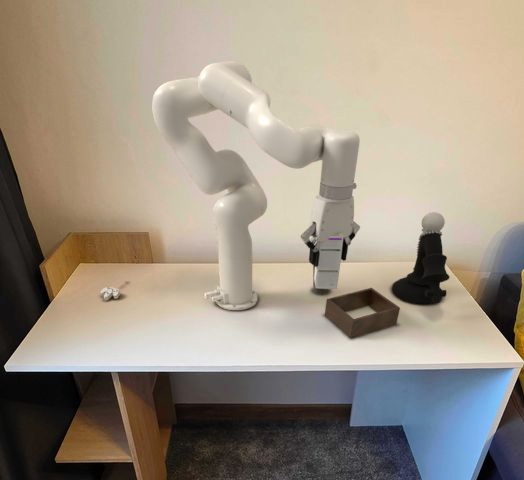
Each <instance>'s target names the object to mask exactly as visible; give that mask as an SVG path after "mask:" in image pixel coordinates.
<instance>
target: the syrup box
mask: <svg viewBox="0 0 524 480" xmlns="http://www.w3.org/2000/svg"><path fill="white" fill-rule="evenodd" d="M343 237H344V236H343V233H339V234H332V235H331V236H330V237H329V238H328V240H327V241H324V242H321V246H320V247H319V249H318V251H319V252H320V255H319V264H318V266H317V267H315V272H314V282H315V288H319V289H329V290H337V289H338V285H339V277H340V271H341V270H340V269H341V261H342V260H341V254H342V245H343Z"/></svg>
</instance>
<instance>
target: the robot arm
mask: <svg viewBox="0 0 524 480" xmlns="http://www.w3.org/2000/svg"><path fill="white" fill-rule="evenodd" d="M252 80H253V79H252V75H251V73H250V71H249V70H248V68H247V67H246V65H244V64H243V63H241V62H239V61H236V60H226V61H219V62H218V61H217V62H212V63H210V64H208V65H206V66H205V67H204V68H203V69H201V71H200V73H199V75H198V76H193V77H187V78H180V79H173V80H169V81H167V82H164V83H163V84H161V85H160V86H159V87H158V88H157V89H155V91H154V93H153V95H152V100H151V101H152V102H151V111H152V117H153V121H154V124H155V127H156V128H157V130H158V132H159V133H160V135H161V137H162V138H163V139H164V140H165V141H166V143H167V144H168V145H169V146H170V147H171V149H172V150H173V152H174V153H175V154H176V155H177V157H178V159H179V160H180V162H181V163H182V165H183V167H184V168H185V170H186V171H187V172H188V174H189V176H190V177H191V178H192V181H194V183H195V184H196V185H197V187H198V188H199V190H200V191H201V192H202V193H203V194H205V195H208V196H212V195H216V194H220V193H221V192H223V191H225V190H227V192H228V193H226V194H224V195H223V196H221V197H220V198H219V199H218V200H217V201H216V202H215V203H214V206H213V210H212V218H213V225H214V228H215V231H216V240H217V253H218V255H217V256H218V272H219V285H216V289H214V290H213V291H207V292H204V293H203V295H204V299H205V300H210V299H211V302H215V304H216V305H217V306H219V307H220V308H222V309H225V310H228V311H244V310H248V309H251V308H252V307H254V306H256V304H257V303H258V294H257V293H256V291H254V290H253V240H252V237H251V234H250V231H249V230H250V229H249V226H250V225H251V224H252V223H254V222H255V221H256V220H258V219H260V218H261V217H262V216H263V215H264V214H265V213H266V211H267V209H268V197H267V195H266V193H265V191H264V189H263V187H262V186H261V184H260V182H259V180H258V179H257V178H256V176H255V175H254V173H253V172H252V170H251V168H250V167H249V165H248V164H247V162H246V161H245V160H244V158H243V156H241V155H240V154H239V153H238V152H237V151H234V150H232V149H228V148H227V149H226V148H225V149H220V150H217V151H216V150H215V149H214V148H213V147H212V145H211V144H210V142H209V141H208V139H207V137H206V136H205V135H204V134H203V132H201V130H200V129H199V128H197V127H196V126H195V125H194V124H193V123H191V122H190V121H189V119H191V118H194V117H199V116H203V115H207V114H210V113H212V112H214V111H218V110H219V111H221V112H222V113H223V114H225V115H227V116H228V117H230V119H231V118H232V119H233V120H234V121H236V122H237V123H239V124H240V125H241V126H243V127H245V129H247V130H248V131H249V133H250V136H251V137H252V139H253V140H254V142H255V143H256V145H257V146H258V148H260V149H261V150H262V151H263V152H264V153H266V154H267V155H268V156H270V157H271V158H273V159H274V160H276V161H277V162H279V163H281V164H282V165H284V166H286V167H288V168H291V169H297V170H299V169H304V168H306V167H308V166H309V165H311V164H313V163H316V162H319V161H322V162H321V171H320V182H319V192H318V195H315V197H314V200H313V203H312V208H311V212H310V216H309V217H310V218H309V224H308V228H307V229H306V230H305V231H304V232H303V233H301V235H300V239H301V240H302V242H303V244H304V245H305V246H306V247H307V248H308V249H309V253H308V261H309V263H310V264H311V265H312V266H313V265H314V266H315V267H317V266H318V264H319V255H320V252H319V251H318V249H319V247H320V246H321V242H324V241H327V240H328V238H329V237H330V236H331V235H332V234H339V233H343V236H344V237H343V245H342V254H341V261H343V262H344V261H345V262H346V260H347V257H348V256H347V255H348V250H349V246H350V245H351V244H352V241H353V240H354V238H355V237H356V235H357V233H358V232H359V231H360V229H361V226H360V224H358V223H357V222H356V221H354V219H355V198H354V195H353V193H354V192H353V191H354V190H356V189H357V184H356V182H355V179H356V170H357V164H358V163H357V162H358V156H359V151H360V150H359V148H360V141H361V140H360V136H359V134H358V133H356V132H354V131H351V130H346V129H345V130H344V129H334V128H330V127H327V126H323V125H320V124H315V123H314V124H309V125H307V126H303V127H301V128H298V129H295V128H293V127H291V126H290V125H288V124H287V123H285V122H283V121H282V120H281V119H280V118H278V117H277V116H276V115H275V114H274V113H273V112H272V110H271V96H270V94H269V93H268V92H267V91H266V90H264V89H262V88H261V87H259V86H258V85H256V84H255V83H253V82H252ZM310 237H311V239H310Z"/></svg>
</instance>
